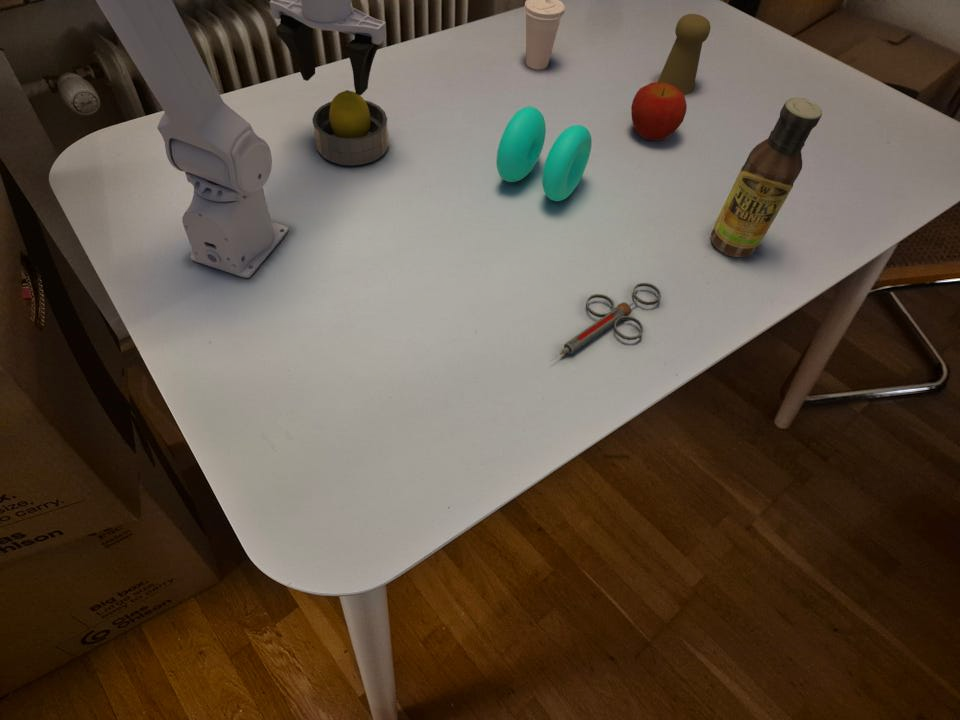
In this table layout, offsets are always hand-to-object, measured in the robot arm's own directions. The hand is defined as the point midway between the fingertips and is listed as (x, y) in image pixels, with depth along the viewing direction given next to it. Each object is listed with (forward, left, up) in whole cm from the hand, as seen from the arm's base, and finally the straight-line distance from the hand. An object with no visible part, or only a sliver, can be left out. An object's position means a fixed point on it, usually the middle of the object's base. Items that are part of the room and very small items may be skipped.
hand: (335, 83), depth 87 cm
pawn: (+39, -41, -10) cm, 58 cm away
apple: (+23, -40, -10) cm, 47 cm away
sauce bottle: (+3, -55, -10) cm, 56 cm away
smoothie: (+35, -18, -10) cm, 41 cm away
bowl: (+1, -1, -10) cm, 10 cm away
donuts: (+4, -28, -10) cm, 30 cm away
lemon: (+1, -1, -10) cm, 10 cm away
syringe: (-18, -43, -10) cm, 47 cm away
